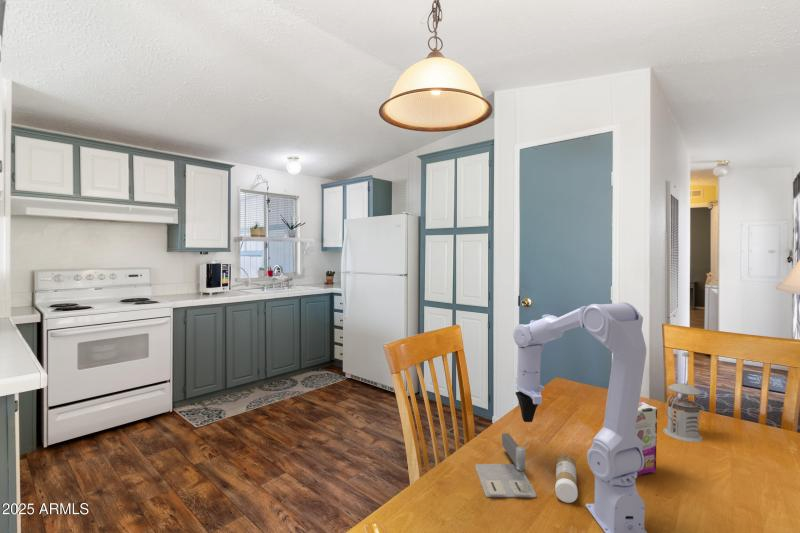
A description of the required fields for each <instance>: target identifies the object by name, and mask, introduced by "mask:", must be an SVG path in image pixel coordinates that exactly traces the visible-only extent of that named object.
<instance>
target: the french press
mask: <svg viewBox="0 0 800 533" xmlns="http://www.w3.org/2000/svg"><path fill="white" fill-rule="evenodd" d="M681 355H682V357H685V361H684V377H686V376H687V375H686V374H687V373H686V372H687V358H689V357H691V356H690V353H689V352H687V351H683V352H682V354H681ZM683 381H684V382H683V383H682V382H681V383H680V382H679V383H673V384H670V385H668V387H667V388H668V390H669V391H671V392H673V393H676V394H680V395H683V398H680V397H679V396H676V397H675V398H674V395H673V394H670V396H668V398H667V401H666V402H665V415H666V417H667V423H666V424H667V425H666V427H665V428H663V430H662V431H663V433H664V434H665V435H666V436H669V437H671V438H674V439H676V440H679V441H683V442H691V443H700V442H702V441H703V440H704V439H703V437H702V435H701V434H700V432H699V431H700V428H699V427H700V424H699V423H700V416H701V414H700V409H699V404H698V403H697V402H695V401H692V400H689V399H686V398H685V396H700V395H701V394H702V391H701V390H700V389H699V388H697V387H696V386H693V385H691V384H688V383H686V378H684V380H683Z"/></svg>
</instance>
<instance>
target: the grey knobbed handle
mask: <svg viewBox="0 0 800 533" xmlns="http://www.w3.org/2000/svg"><path fill="white" fill-rule="evenodd" d="M501 446H502V447H503V449H504V450H505V452H506V453H507V455H508V456H509V458H510V460H512V462H513V464H515V465H516V469H518V470H523V471H525V470H526V450H527V449H526V448H525V447H524V446H519V445H518V444H517V443H516V440H514V438H513V437H512V435H510V433H508V432H507V433H502V434H501Z"/></svg>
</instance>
